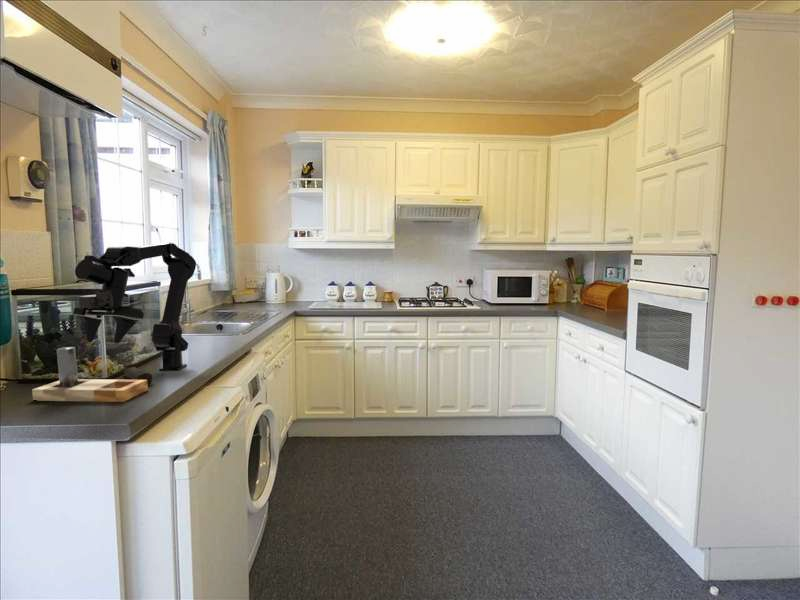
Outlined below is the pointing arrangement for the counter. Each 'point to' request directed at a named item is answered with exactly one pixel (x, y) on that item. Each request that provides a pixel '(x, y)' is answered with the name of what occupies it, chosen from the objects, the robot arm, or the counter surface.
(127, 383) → the rail board
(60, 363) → the steel peg
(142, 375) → the brown rough long piece
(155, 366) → the counter surface
